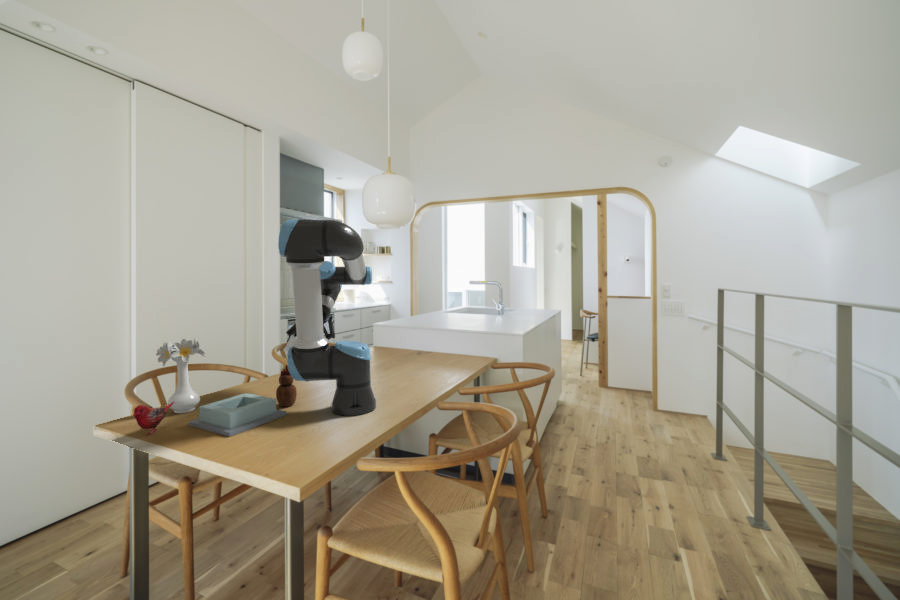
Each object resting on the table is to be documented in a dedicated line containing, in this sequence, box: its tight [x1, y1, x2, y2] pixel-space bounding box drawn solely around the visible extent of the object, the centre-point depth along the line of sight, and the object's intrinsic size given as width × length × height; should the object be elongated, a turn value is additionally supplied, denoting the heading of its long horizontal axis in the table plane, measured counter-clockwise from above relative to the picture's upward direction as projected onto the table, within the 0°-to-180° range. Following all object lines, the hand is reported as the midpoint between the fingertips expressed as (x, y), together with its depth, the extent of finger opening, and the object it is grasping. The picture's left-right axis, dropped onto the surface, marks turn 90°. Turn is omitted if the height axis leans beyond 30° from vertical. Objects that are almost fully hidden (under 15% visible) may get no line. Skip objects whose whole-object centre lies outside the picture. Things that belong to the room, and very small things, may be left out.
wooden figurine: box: [275, 364, 298, 408], centre depth 141 cm, size 7×6×15 cm
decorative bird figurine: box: [133, 402, 174, 437], centre depth 118 cm, size 3×18×10 cm, turn 4°
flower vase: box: [155, 338, 206, 414], centre depth 135 cm, size 13×18×25 cm
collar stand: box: [188, 392, 287, 438], centre depth 127 cm, size 20×20×6 cm
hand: (302, 351), depth 151 cm, fingers open, 13 cm apart
